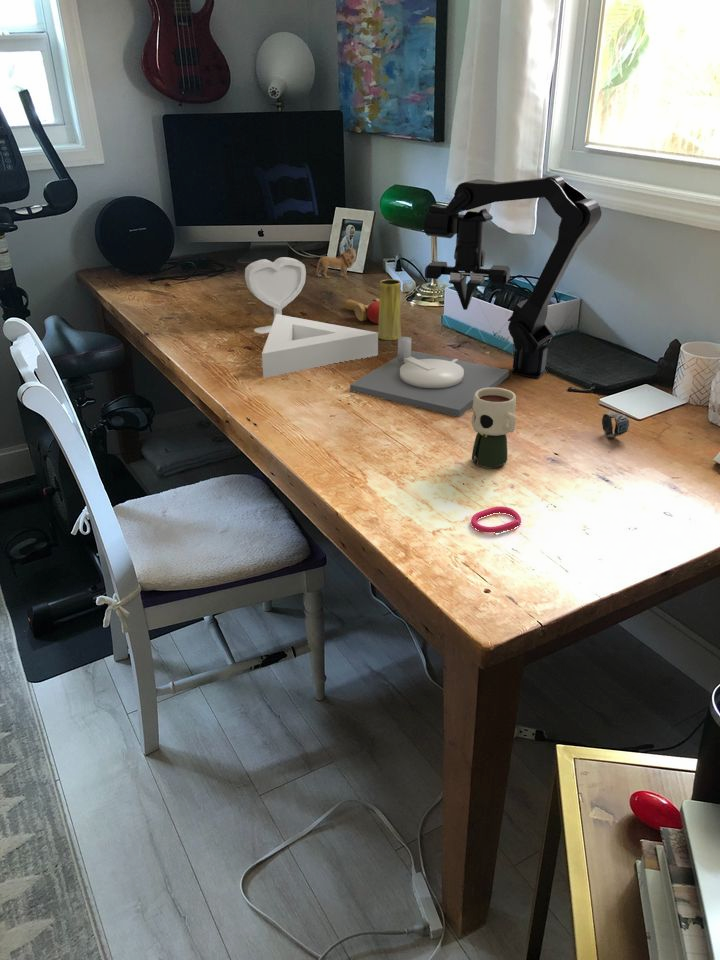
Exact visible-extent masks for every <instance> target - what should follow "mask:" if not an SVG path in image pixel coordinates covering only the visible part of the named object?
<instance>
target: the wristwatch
mask: <svg viewBox="0 0 720 960" xmlns="http://www.w3.org/2000/svg"><path fill="white" fill-rule="evenodd" d="M612 419H614V421H615V428H614V426H613V421H612ZM601 425H602V430H603V431H604V436H605V437H606V438H615V437H619V436H621V435H623V434H625V433H627V432H628V430H629V426H630V421H629V419H628V417H626V415H625V414H623V413H620V414H619V413H617V412H615V411H612V412H611V411H610V412H607V413H604V414H603V415H602V418H601Z"/></svg>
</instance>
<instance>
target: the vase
mask: <svg viewBox="0 0 720 960" xmlns="http://www.w3.org/2000/svg"><path fill="white" fill-rule="evenodd" d="M401 291H402V282H401V281H400V280H398V279H393V278H391V279H390V278H389V279H388V278H387V279H382V280H380V281H379V298H378V299H379V324H378V326H377V327H378V332H377V333H378V339H380V340H383V341H398V338H400V337H402V328H401Z"/></svg>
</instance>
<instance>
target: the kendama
mask: <svg viewBox="0 0 720 960" xmlns="http://www.w3.org/2000/svg"><path fill="white" fill-rule="evenodd" d="M379 299H380V298H374V299H372V301H371V302H370V303H369V304H367V305H366V304H363V303H361V302H359V301H355V300H353V299H347V300H346V301H345V303H344V307H345V310H348V311H354V314H355V316H356V318H357V319H358V321H360V322H364V321H366V320H367V318H368V320H369V321H370V322H371V323H373V324H377V325H379Z"/></svg>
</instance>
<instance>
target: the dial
mask: <svg viewBox="0 0 720 960" xmlns="http://www.w3.org/2000/svg"><path fill="white" fill-rule="evenodd" d="M411 351H412V338H411V337H410V336H409V337H408V336H401V337H400V338H398V339H397V356H398V361H400V362H404V363H405V364H403V365H402V366H401V367H400V378H401V380H402V381H404V382H405V383H407V384H409V385H412V386H416V387H421V388H446V387H451V386H454V385H457V384H459V383H460V382H462V380H463V378H464V369H463V368H462V367H461V366H460V365H458V364H456V363H454V362H450V361H446V360H440V359H419V360H418V359H416V358H413V357H411Z"/></svg>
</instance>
